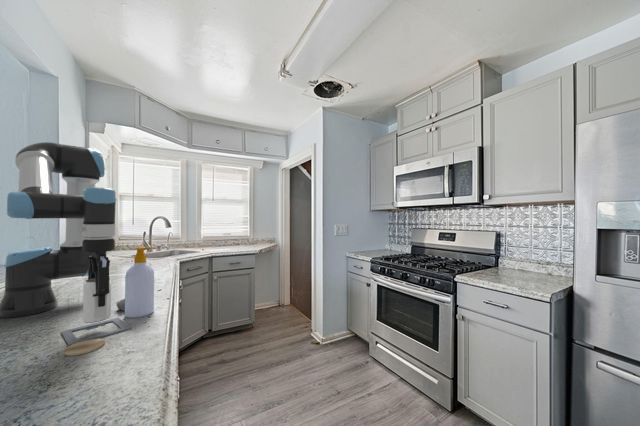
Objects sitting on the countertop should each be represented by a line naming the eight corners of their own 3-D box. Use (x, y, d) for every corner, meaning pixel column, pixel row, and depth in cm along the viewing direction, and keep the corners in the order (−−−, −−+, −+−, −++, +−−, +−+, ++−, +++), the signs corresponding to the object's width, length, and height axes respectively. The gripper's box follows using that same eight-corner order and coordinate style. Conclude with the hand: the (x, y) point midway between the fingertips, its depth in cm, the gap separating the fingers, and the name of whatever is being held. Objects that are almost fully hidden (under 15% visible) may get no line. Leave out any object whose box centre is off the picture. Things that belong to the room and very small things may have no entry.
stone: (143, 303, 106) (144, 288, 106) (152, 306, 101) (152, 291, 101) (114, 309, 98) (114, 294, 98) (122, 314, 93) (122, 297, 93)
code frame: (60, 332, 77) (60, 331, 77) (118, 318, 88) (118, 317, 88) (68, 346, 69) (69, 345, 69) (131, 329, 80) (131, 327, 80)
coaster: (61, 349, 67) (61, 346, 67) (100, 338, 73) (100, 336, 74) (66, 359, 62) (66, 356, 62) (108, 346, 69) (108, 344, 69)
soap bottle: (151, 316, 90) (152, 248, 91) (120, 319, 88) (121, 249, 88) (159, 308, 99) (160, 246, 99) (130, 311, 96) (131, 246, 97)
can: (94, 324, 75) (95, 282, 75) (77, 322, 76) (77, 281, 76) (116, 315, 81) (117, 277, 81) (99, 314, 82) (100, 276, 82)
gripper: (76, 237, 82) (74, 310, 82) (90, 241, 70) (88, 326, 70) (106, 235, 88) (104, 303, 87) (123, 239, 76) (122, 318, 75)
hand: (97, 313), depth 78 cm, fingers closed on can, 6 cm apart
